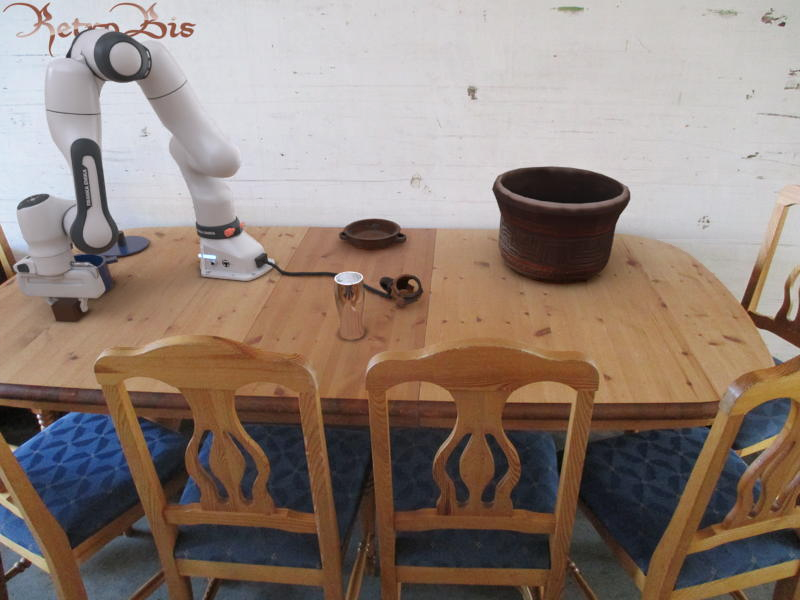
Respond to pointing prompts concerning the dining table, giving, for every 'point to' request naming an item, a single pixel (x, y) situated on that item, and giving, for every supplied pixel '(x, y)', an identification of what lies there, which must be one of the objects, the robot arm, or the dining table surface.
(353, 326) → the beer glass
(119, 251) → the lid
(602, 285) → the dining table surface
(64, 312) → the brownie
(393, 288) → the pottery mug
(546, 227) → the ceramic pot
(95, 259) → the pot
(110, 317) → the dining table surface
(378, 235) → the dish
